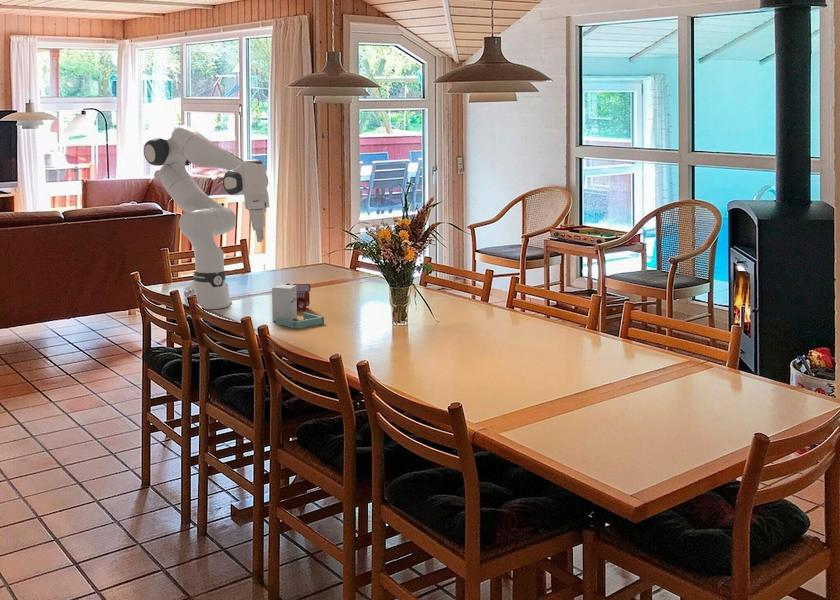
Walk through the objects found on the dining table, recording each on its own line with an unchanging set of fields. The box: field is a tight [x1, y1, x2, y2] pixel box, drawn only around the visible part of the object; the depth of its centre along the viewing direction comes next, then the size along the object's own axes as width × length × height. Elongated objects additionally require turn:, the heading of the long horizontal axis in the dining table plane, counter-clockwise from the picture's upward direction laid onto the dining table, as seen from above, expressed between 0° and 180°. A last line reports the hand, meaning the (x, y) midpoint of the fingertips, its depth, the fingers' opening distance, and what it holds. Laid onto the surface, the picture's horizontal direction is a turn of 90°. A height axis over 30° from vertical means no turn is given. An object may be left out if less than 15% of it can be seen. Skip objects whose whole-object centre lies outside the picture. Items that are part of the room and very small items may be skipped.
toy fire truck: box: [285, 283, 311, 311], centre depth 368 cm, size 7×12×10 cm, turn 91°
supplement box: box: [271, 284, 298, 322], centre depth 349 cm, size 7×7×13 cm
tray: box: [276, 311, 325, 329], centre depth 343 cm, size 12×13×2 cm
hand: (260, 240), depth 348 cm, fingers open, 8 cm apart
